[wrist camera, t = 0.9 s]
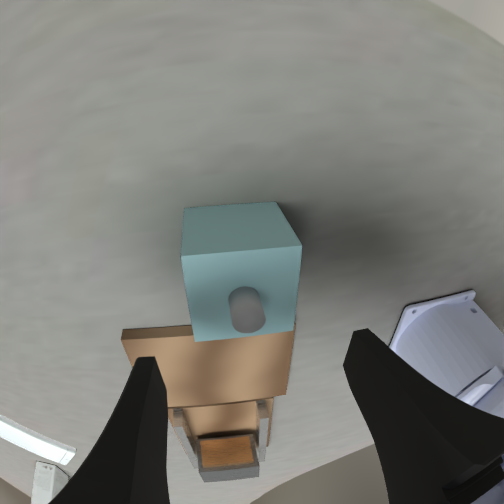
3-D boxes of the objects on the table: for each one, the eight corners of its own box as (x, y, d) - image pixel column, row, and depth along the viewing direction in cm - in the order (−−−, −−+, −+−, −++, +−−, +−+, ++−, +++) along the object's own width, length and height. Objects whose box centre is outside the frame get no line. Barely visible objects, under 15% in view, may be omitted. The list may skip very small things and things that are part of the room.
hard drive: (-7, 434, 26) (65, 466, 31) (-8, 416, 24) (75, 455, 29) (-5, 425, 28) (66, 458, 33) (-5, 407, 25) (76, 445, 30)
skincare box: (35, 460, 33) (28, 518, 22) (56, 464, 33) (50, 525, 23) (50, 472, 36) (45, 525, 26) (69, 476, 36) (66, 531, 26)
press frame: (291, 314, 22) (301, 340, 19) (275, 441, 33) (279, 458, 31) (122, 329, 20) (117, 357, 18) (178, 451, 31) (179, 469, 29)
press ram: (252, 431, 28) (259, 464, 25) (252, 447, 31) (258, 476, 27) (195, 437, 27) (198, 470, 24) (201, 452, 30) (204, 482, 26)
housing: (274, 201, 17) (314, 265, 12) (272, 275, 20) (301, 351, 14) (184, 207, 16) (179, 277, 11) (193, 282, 19) (196, 364, 14)
